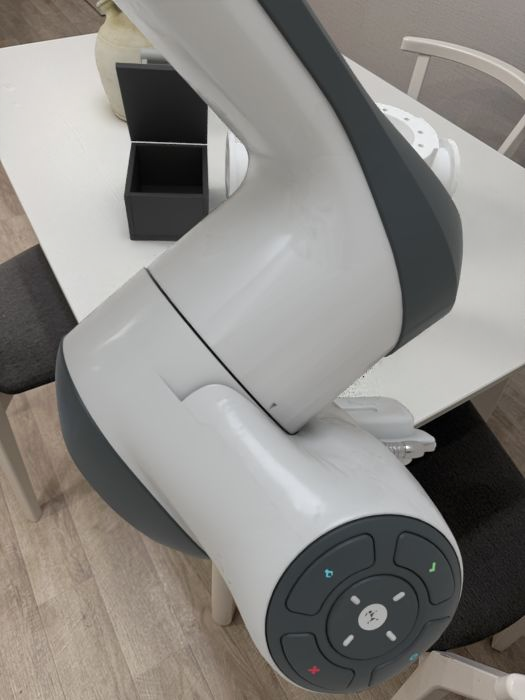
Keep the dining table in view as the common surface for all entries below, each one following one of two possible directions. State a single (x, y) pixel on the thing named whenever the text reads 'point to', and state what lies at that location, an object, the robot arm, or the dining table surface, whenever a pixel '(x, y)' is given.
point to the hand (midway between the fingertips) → (263, 405)
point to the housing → (414, 130)
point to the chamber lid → (160, 102)
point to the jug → (117, 50)
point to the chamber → (166, 190)
